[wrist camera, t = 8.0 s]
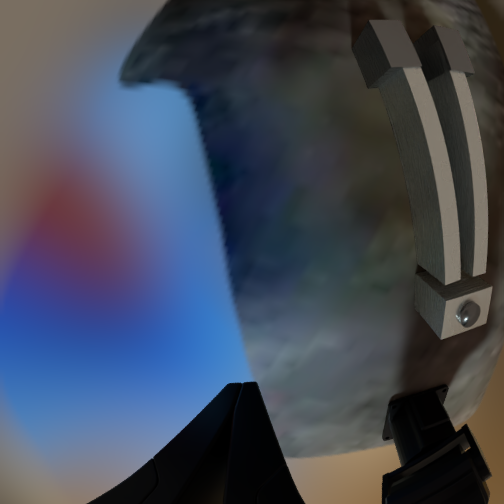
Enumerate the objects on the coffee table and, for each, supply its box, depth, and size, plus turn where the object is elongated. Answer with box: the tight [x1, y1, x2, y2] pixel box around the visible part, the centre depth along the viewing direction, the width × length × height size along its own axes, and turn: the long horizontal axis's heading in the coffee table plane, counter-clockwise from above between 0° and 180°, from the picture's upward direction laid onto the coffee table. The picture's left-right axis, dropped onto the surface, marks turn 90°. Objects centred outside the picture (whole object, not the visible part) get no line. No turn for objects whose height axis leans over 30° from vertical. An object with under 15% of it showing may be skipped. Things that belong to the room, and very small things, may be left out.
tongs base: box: [413, 25, 492, 340], centre depth 13 cm, size 18×4×5 cm, turn 12°
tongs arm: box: [352, 20, 461, 285], centre depth 13 cm, size 15×2×4 cm, turn 17°
